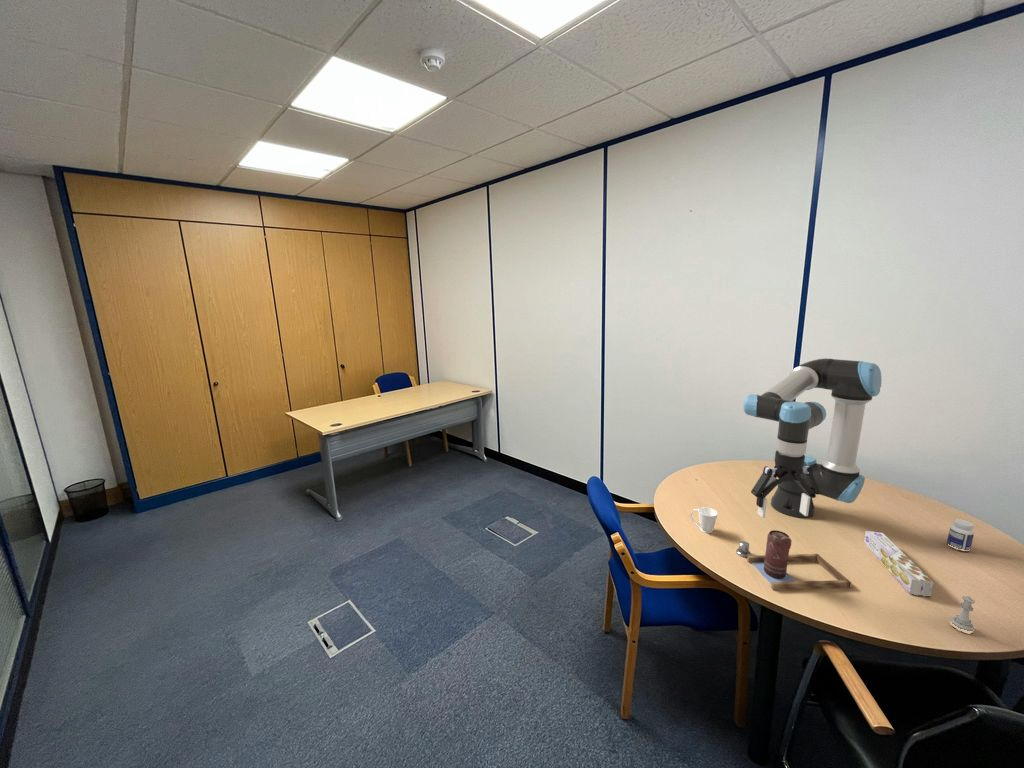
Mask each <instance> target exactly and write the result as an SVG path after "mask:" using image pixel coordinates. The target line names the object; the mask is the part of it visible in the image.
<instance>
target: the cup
mask: <svg viewBox="0 0 1024 768" xmlns="http://www.w3.org/2000/svg"><path fill="white" fill-rule="evenodd" d="M694 511H695V512H696V513H697V512H698V521H699V524H698V523H697V522H696V521H695V520H694V517H693V516H692V515H693V512H694ZM717 517H718V511H717V510H715V509H714V508H711V507H707V506H703V507H699V508H698V509H697V508H693V509H692V510H691V512H690V513H689V518H690V520H691V521H692V522H693V524H694V525H695V526H696V527H698V528H699V529H700V531H701V532H702V533H705V534H712V533H713V530H714V527H715V525H716V521H717Z"/></svg>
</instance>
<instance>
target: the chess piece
mask: <svg viewBox="0 0 1024 768" xmlns="http://www.w3.org/2000/svg"><path fill="white" fill-rule="evenodd" d="M961 599H962V600H963V603H961V602H960V603H959V607H961V612H960V613H959V614H957V615H955V616H952V617H951V618H950V621H951V622H952V624H954V625H955V626H957V627H958V628H960V629H964V630H967V631H973V630H974V631H975V626H974V625H973V623H972V620H971V619H970V612H973V611H974V608H973V606H972V605H973V604H975V603H976V600H974V599H973V598H972V596H970V595H968V596H967V595H962V597H961Z"/></svg>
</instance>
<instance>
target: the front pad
mask: <svg viewBox="0 0 1024 768" xmlns="http://www.w3.org/2000/svg"><path fill="white" fill-rule="evenodd" d="M751 565H753V567H755V568H756V569H757V570H758V572H759V573H760V574H761V576H763V577H764V578H765V579H766V580H767V582H768V583H769V584H770V585H771V583H772V582H796V580H794V578H793V577H791V575H790V574H789V573H788V572H786V576H785V577H784V578H782V579H776V578H773V577H770V576H769V575H767V574H766V573H765V571H764V562H754V563H751Z"/></svg>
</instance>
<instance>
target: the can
mask: <svg viewBox="0 0 1024 768" xmlns="http://www.w3.org/2000/svg"><path fill="white" fill-rule="evenodd" d="M791 547H792V539H791V538H790V536H789V535H788V534H787V533H785V532H783V531H781V530H774V529H773V530H770V531H769V532H768V533H767V538H766V548H765V553H764V555H765V561H764V571H765V573H766V574H767V575H769V576H770V577H773V578H776V579H782V578H784V577H785V576H786V573H787V568H788V564H789V563H788V556H789V555H790V550H791Z"/></svg>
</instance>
